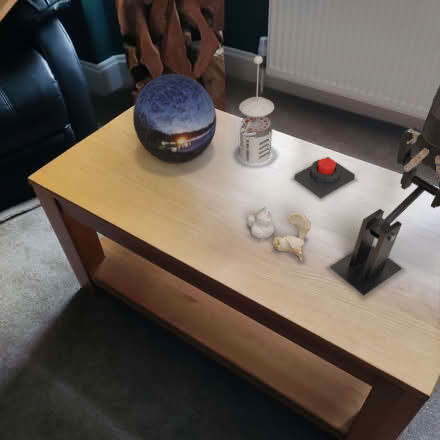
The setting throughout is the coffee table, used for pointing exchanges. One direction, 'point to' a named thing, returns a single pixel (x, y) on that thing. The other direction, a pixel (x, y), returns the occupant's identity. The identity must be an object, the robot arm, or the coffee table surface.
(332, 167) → the button
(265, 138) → the french press
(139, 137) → the decorative sphere
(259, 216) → the white lumpy piece
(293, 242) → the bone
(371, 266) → the bracket
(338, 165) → the control block
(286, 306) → the coffee table surface
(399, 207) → the lever
